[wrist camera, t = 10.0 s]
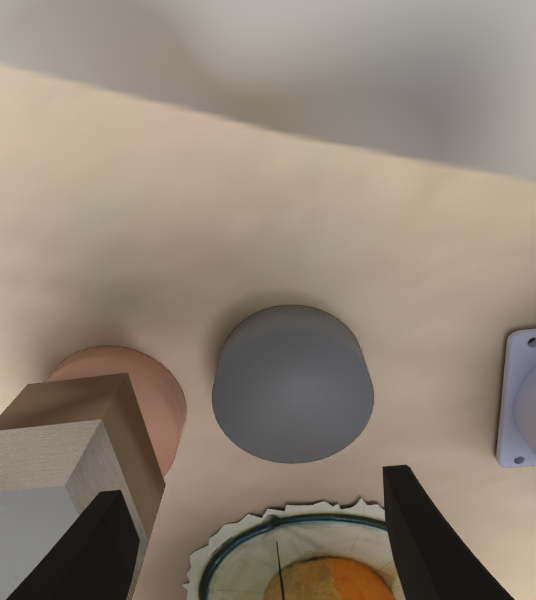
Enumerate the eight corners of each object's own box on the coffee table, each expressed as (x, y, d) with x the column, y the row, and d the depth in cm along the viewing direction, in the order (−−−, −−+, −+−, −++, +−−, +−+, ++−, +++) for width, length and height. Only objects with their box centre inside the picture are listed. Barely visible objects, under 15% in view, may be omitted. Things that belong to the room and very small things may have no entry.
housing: (127, 372, 19) (64, 485, 13) (165, 484, 21) (126, 618, 16) (27, 384, 19) (-75, 499, 13) (76, 493, 22) (8, 626, 16)
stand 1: (168, 338, 21) (155, 367, 18) (199, 451, 24) (190, 488, 21) (28, 354, 21) (-2, 384, 19) (74, 463, 24) (53, 500, 22)
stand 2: (359, 296, 20) (370, 321, 17) (367, 420, 22) (377, 456, 20) (206, 314, 20) (196, 341, 18) (232, 433, 23) (227, 469, 21)
